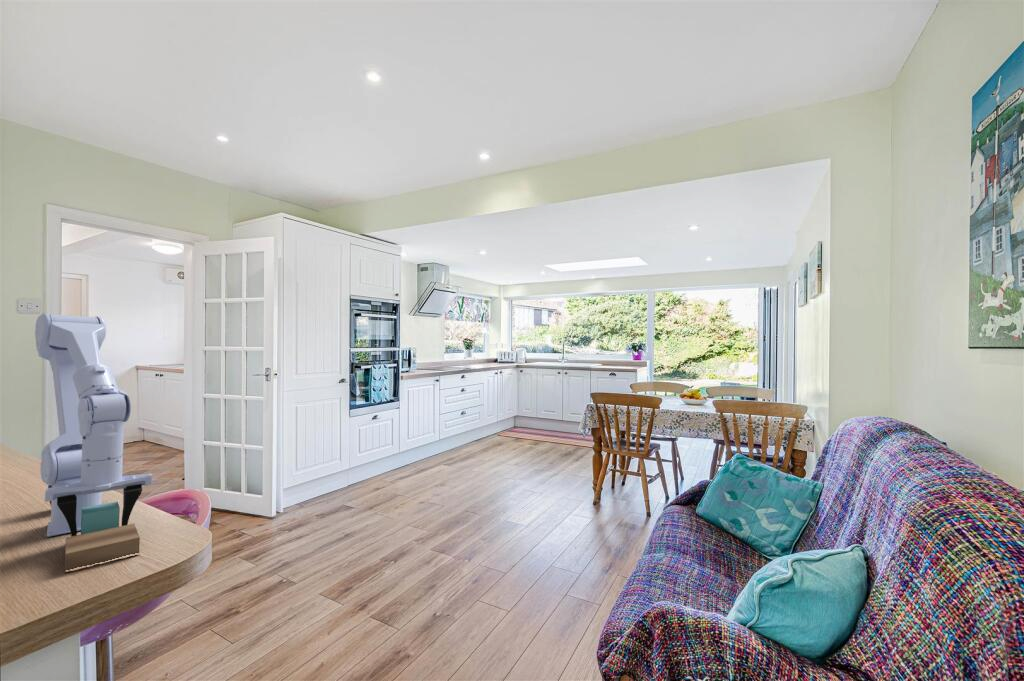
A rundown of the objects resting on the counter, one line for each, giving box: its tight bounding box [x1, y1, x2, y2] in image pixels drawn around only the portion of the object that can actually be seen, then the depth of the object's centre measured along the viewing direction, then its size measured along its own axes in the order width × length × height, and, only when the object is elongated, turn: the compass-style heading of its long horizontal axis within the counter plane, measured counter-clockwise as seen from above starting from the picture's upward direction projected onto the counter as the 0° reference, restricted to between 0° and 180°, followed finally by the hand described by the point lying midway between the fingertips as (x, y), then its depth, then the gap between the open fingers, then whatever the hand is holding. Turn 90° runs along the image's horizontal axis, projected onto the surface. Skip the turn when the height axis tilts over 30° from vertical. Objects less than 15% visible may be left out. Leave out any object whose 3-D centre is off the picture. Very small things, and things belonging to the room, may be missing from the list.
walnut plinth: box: [64, 523, 141, 571], centre depth 76 cm, size 9×9×3 cm
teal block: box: [80, 501, 121, 534], centre depth 82 cm, size 5×5×6 cm
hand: (99, 531), depth 82 cm, fingers open, 6 cm apart
